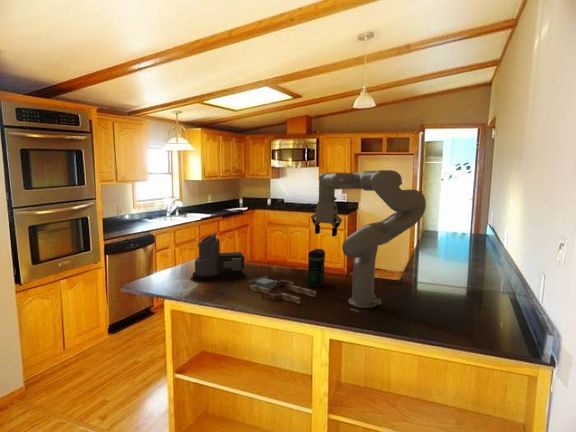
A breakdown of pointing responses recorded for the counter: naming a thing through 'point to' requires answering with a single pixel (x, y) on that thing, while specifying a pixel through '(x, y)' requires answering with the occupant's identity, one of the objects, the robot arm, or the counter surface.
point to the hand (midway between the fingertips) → (325, 234)
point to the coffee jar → (316, 267)
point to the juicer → (216, 262)
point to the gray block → (265, 283)
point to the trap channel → (290, 286)
